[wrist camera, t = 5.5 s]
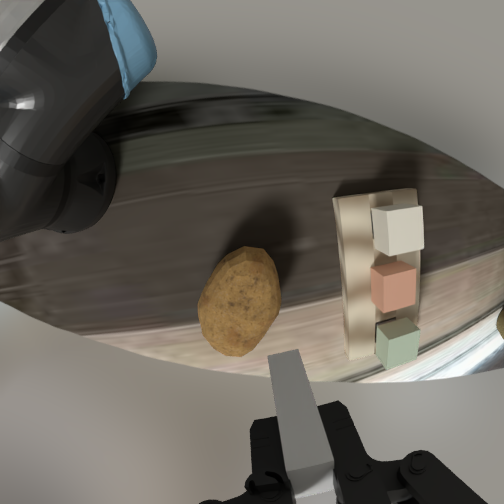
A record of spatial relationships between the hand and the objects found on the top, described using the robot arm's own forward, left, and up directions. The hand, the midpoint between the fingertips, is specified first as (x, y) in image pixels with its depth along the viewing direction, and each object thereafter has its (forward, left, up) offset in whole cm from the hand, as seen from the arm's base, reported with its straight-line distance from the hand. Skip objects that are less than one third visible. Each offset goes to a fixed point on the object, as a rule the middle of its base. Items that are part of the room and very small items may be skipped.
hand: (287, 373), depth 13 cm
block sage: (+21, +7, -22) cm, 31 cm away
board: (+14, +11, -24) cm, 30 cm away
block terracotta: (+14, +11, -24) cm, 30 cm away
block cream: (+7, +15, -22) cm, 28 cm away
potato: (+2, -5, -25) cm, 25 cm away
